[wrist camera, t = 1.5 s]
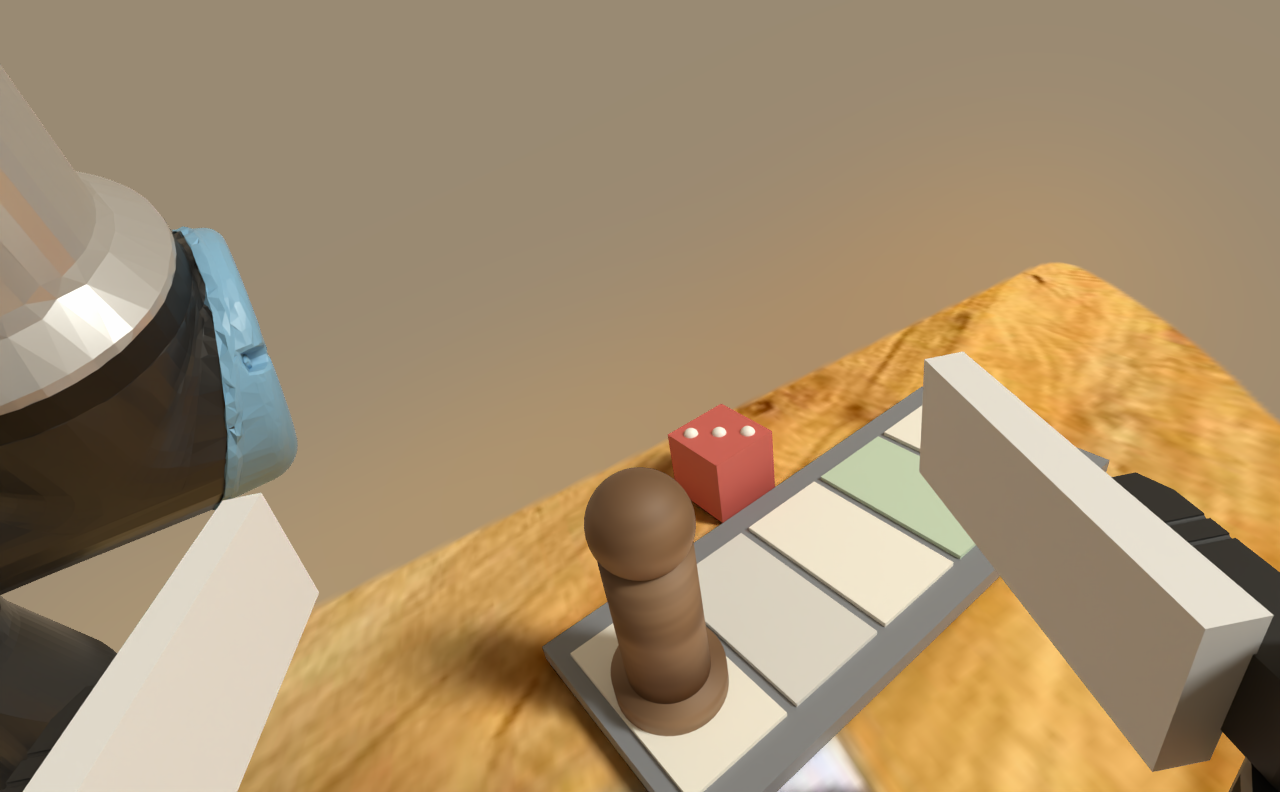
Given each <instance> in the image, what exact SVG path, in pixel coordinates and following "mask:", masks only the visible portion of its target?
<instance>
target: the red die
mask: <svg viewBox="0 0 1280 792" xmlns="http://www.w3.org/2000/svg"><path fill="white" fill-rule="evenodd" d="M668 439H669V445H670V452H671V458H672V465H673V471H674V478H675V480H676V481H677V482H678V483H679V484H680V485H681V486H682V488H683V489H684V490H685V492H686V493H687V495H688V496H689V498H690V500H692V501H693V502H694V503H696V504H697V505H698V506H700V507H701V508H703V509H704V510H705V511H707V512H708V513H709V514H711V515H712V516H714V517H715V518H716V519H718V520H719V521H720V522H722V523H724V522H725V521H727V520H728V519H730V518H731V517H732V516H734V515H735V514H737V513H738V512H740V511H741V510H743V509H744V508H746V507H747V506H748V505H750V504H751V503H753V502H754V501H756V500H757V499H759V498H760V497H762V496H763V495H765V494H766V493H767V492H769V491H770V490H772V489H773V488H775V481H774V462H773V443H772V431H771V430H769V429H767V428H765V427H763V426H761V425H760V424H758V423H756V422H754V421H752V420H750V419H749V418H747V417H745V416H743V415H741V414H739V413H737V412H736V411H734V410H732V409H730V408H728V407H726V406H724V405H722V404H720V405H718V406H716V407H715V408H713V409H711V410H710V411H708V412H706V413H704V414H703V415H701V416H699V417H697V418H696V419H694V420H693V421H691V422H689V423H687V424H685V425H684V426H682V427H680V428H678V429H677V430H675V431H674V432H672V433H670V434H668Z"/></svg>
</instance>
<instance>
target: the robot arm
mask: <svg viewBox="0 0 1280 792" xmlns="http://www.w3.org/2000/svg"><path fill="white" fill-rule="evenodd" d="M296 452H297V437H296V433H295V429H294V425H293V422H292V419H291V415H290V412H289V409H288V406H287V403H286V400H285V397H284V394H283V392H282V389H281V386H280V383H279V380H278V377H277V375H276V372H275V369H274V366H273V364H272V362H271V359H270V357H269V356H268V353H267V347H266V345H265V342H264V340H263V337H262V334H261V331H260V327H259V324H258V321H257V319H256V316H255V313H254V310H253V308H252V305H251V303H250V300H249V297H248V295H247V292H246V289H245V287H244V284H243V282H242V279H241V277H240V274H239V272H238V269H237V267H236V264H235V262H234V259H233V257H232V255H231V253H230V250H229V248H228V246H227V244H226V242H225V240H224V238H223V237H222V236H221V235H220V234H219V233H218V232H216V231H215V230H213V229H209V228H197V229H191V228H188V227H181V228H179V229H177V230H172V231H171V230H170V228H169V226H168V225H167V223H166V221H165V220H164V219H163V218H162V216H161V215H160V214H159V213H158V211H157V210H156V209H155V208H154V207H153V206H152V205H151V203H149V201H148V200H147V199H146V198H144V197H143V196H141V195H140V194H138V193H137V192H135V191H134V190H132V189H131V188H129V187H126V186H124V185H122V184H120V183H118V182H115V181H112V180H109V179H106V178H103V177H100V176H97V175H92V174H87V173H83V172H78V171H74V169H73V168H72V166H71V165H70V163H69V162H68V161H67V159H66V158H65V156H64V155H63V153H62V152H61V150H60V149H59V148H58V146H57V145H56V143H55V142H54V141H53V139H52V138H51V136H50V135H49V133H48V132H47V131H46V129H45V128H44V126H43V125H42V123H41V122H40V120H39V119H38V118H37V116H36V115H35V113H34V112H33V111H32V109H31V108H30V106H29V105H28V103H27V102H26V100H25V99H24V97H23V96H22V95H21V93H20V92H19V90H18V89H17V88H16V86H15V85H14V83H13V82H12V80H11V79H10V77H9V76H8V75H7V73H6V72H5V70H4V69H3V67H2V66H1V65H0V595H2V594H4V593H6V592H9V591H11V590H14V589H16V588H19V587H21V586H23V585H26V584H28V583H31V582H33V581H35V580H38V579H40V578H43V577H45V576H47V575H50V574H52V573H55V572H57V571H60V570H62V569H64V568H67V567H70V566H72V565H75V564H77V563H80V562H82V561H85V560H87V559H89V558H92V557H95V556H97V555H100V554H102V553H105V552H107V551H110V550H112V549H115V548H117V547H120V546H122V545H125V544H127V543H130V542H132V541H135V540H137V539H140V538H142V537H145V536H147V535H150V534H152V533H155V532H157V531H160V530H162V529H165V528H167V527H169V526H172V525H174V524H177V523H180V522H182V521H184V520H187V519H190V518H192V517H195V516H197V515H200V514H202V513H205V512H207V511H210V510H216V511H215V512H214V514H213V515H212V517H211V518H210V520H209V521H208V522H207V524H206V525H205V527H204V528H203V530H202V531H201V533H200V534H199V536H198V537H197V538H196V540H195V541H194V543H193V544H192V546H191V547H190V549H189V550H188V552H187V553H186V554H185V556H184V557H183V559H182V560H181V562H180V563H179V565H178V566H177V568H176V569H175V571H174V572H173V573H172V575H171V576H170V578H169V579H168V581H167V582H166V584H165V585H164V587H163V588H162V590H161V591H160V592H159V594H158V595H157V597H156V598H155V600H154V601H153V602H152V604H151V606H150V607H149V608H148V610H147V611H146V613H145V614H144V616H143V617H142V619H141V620H140V621H139V623H138V624H137V626H136V627H135V629H134V630H133V632H132V633H131V635H130V636H129V638H128V639H127V640H126V642H125V643H124V645H123V646H122V648H121V649H120V651H119V652H118V653H116V652H115V651H114V650H113V649H111V648H110V647H108V646H107V645H105V644H104V643H103V642H101V641H99V640H97V639H94V638H92V637H90V636H87V635H85V634H83V633H81V632H78V631H76V630H74V629H71V628H69V627H66V626H64V625H62V624H60V623H57V622H55V621H53V620H50V619H48V618H46V617H43V616H41V615H39V614H36V613H34V612H32V611H29V610H27V609H25V608H22V607H20V606H18V605H16V604H13V603H11V602H9V601H7V600H5V599H4V598H3V597H2V596H0V792H237V791H238V788H239V786H240V783H241V781H242V779H243V776H244V774H245V771H246V769H247V766H248V764H249V762H250V759H251V757H252V754H253V752H254V749H255V747H256V745H257V742H258V740H259V737H260V735H261V732H262V730H263V728H264V725H265V723H266V720H267V718H268V716H269V713H270V711H271V708H272V706H273V703H274V701H275V699H276V696H277V694H278V691H279V689H280V686H281V684H282V682H283V679H284V677H285V674H286V672H287V669H288V667H289V665H290V662H291V660H292V657H293V655H294V652H295V650H296V648H297V645H298V643H299V640H300V638H301V635H302V633H303V631H304V628H305V626H306V623H307V621H308V619H309V616H310V614H311V611H312V609H313V606H314V604H315V602H316V599H317V596H318V594H319V592H318V590H317V588H316V586H315V585H314V583H313V581H312V580H311V578H310V576H309V574H308V573H307V571H306V569H305V568H304V566H303V564H302V562H301V561H300V559H299V557H298V555H297V554H296V552H295V550H294V549H293V547H292V545H291V543H290V542H289V540H288V538H287V536H286V535H285V533H284V531H283V530H282V528H281V526H280V524H279V523H278V521H277V519H276V517H275V516H274V514H273V512H272V510H271V509H270V507H269V505H268V504H267V502H266V500H265V498H264V497H263V495H262V493H258V494H253V495H248V496H243V497H238V498H235V497H237V496H239V495H242V494H244V493H246V492H248V491H250V490H252V489H254V488H257V487H259V486H261V485H263V484H265V483H267V482H269V481H272V480H274V479H275V478H277V477H279V476H280V475H282V474H283V473H284V472H285V471H286V470H287V469H288V468H289V467H290V466H291V464H292V462H293V461H294V458H295V456H296ZM919 472H920V473H921V475H922V476H923V477H924V479H925V480H926V481H927V482H928V484H929V485H930V486H931V488H932V489H933V490H934V491H935V493H936V494H937V495H938V497H939V498H940V499H941V500H942V502H943V503H944V504H945V506H946V507H947V508H948V509H949V511H950V512H951V513H952V515H953V516H954V517H955V518H956V520H957V521H958V522H959V524H960V525H961V526H962V527H963V529H964V530H965V531H966V533H967V534H968V535H969V536H970V538H971V539H972V540H973V542H974V543H975V544H976V546H977V547H978V548H979V549H980V551H981V552H982V553H983V555H984V556H985V557H986V558H987V560H988V561H989V562H990V564H991V565H992V566H993V567H994V569H995V570H996V571H997V573H998V574H999V575H1000V576H1001V578H1002V579H1003V580H1004V582H1005V583H1006V584H1007V585H1008V587H1009V588H1010V589H1011V591H1012V592H1013V593H1014V594H1015V596H1016V597H1017V598H1018V600H1019V601H1020V602H1021V603H1022V605H1023V606H1024V607H1025V609H1026V610H1027V611H1028V612H1029V614H1030V615H1031V616H1032V618H1033V619H1034V620H1035V621H1036V623H1037V624H1038V625H1039V627H1040V628H1041V629H1042V630H1043V632H1044V633H1045V634H1046V636H1047V637H1048V638H1049V639H1050V641H1051V642H1052V643H1053V645H1054V646H1055V647H1056V648H1057V650H1058V651H1059V652H1060V654H1061V655H1062V656H1063V657H1064V659H1065V660H1066V661H1067V663H1068V664H1069V665H1070V666H1071V668H1072V669H1073V670H1074V672H1075V673H1076V674H1077V675H1078V677H1079V678H1080V679H1081V681H1082V682H1083V683H1084V684H1085V686H1086V687H1087V688H1088V690H1089V691H1090V692H1091V693H1092V695H1093V696H1094V697H1095V699H1096V700H1097V701H1098V702H1099V704H1100V705H1101V706H1102V708H1103V709H1104V710H1105V711H1106V713H1107V714H1108V715H1109V717H1110V718H1111V719H1112V720H1113V722H1114V723H1115V724H1116V726H1117V727H1118V728H1119V729H1120V731H1121V732H1122V733H1123V735H1124V736H1125V737H1126V738H1127V740H1128V741H1129V742H1130V744H1131V745H1132V746H1133V747H1134V749H1135V750H1136V751H1137V753H1138V754H1139V755H1140V756H1141V758H1142V759H1143V760H1144V762H1145V763H1146V764H1147V766H1148V767H1149V768H1150V769H1151V771H1152V772H1154V771H1159V770H1164V769H1169V768H1174V767H1179V766H1184V765H1188V764H1193V763H1198V762H1203V761H1208V760H1210V759H1211V756H1212V754H1213V752H1214V750H1215V747H1216V745H1217V743H1218V741H1219V738H1220V736H1221V734H1222V732H1223V733H1224V734H1225V735H1226V736H1227V737H1228V738H1229V739H1230V740H1231V741H1232V743H1233V744H1234V745H1235V746H1236V747H1237V748H1238V749H1239V750H1240V751H1241V752H1242V753H1243V755H1244V756H1245V759H1244V761H1243V763H1242V765H1241V767H1240V770H1239V772H1238V774H1237V776H1236V778H1235V780H1234V782H1233V784H1232V786H1231V788H1230V790H1229V792H1280V572H1278V571H1277V570H1276V569H1275V568H1273V567H1272V566H1271V565H1270V564H1268V563H1267V562H1266V561H1264V560H1263V559H1262V558H1261V557H1259V556H1258V555H1257V554H1255V553H1254V552H1253V551H1252V550H1250V549H1249V548H1248V547H1247V546H1245V545H1244V544H1243V543H1241V542H1240V541H1239V540H1238V539H1236V538H1233V539H1232V538H1231V537H1230V536H1229V532H1227V531H1226V530H1225V529H1223V528H1222V527H1221V526H1220V525H1218V524H1217V523H1216V522H1215V521H1213V520H1212V519H1211V518H1209V519H1206V518H1205V516H1204V513H1203V512H1202V511H1200V510H1199V509H1198V508H1197V507H1195V506H1194V505H1193V504H1192V503H1190V502H1189V501H1188V500H1186V499H1185V498H1184V497H1183V496H1181V495H1180V494H1179V493H1177V492H1176V491H1175V490H1173V489H1171V488H1169V487H1167V486H1164V485H1162V484H1160V483H1158V482H1156V481H1153V480H1151V479H1149V478H1147V477H1145V476H1142V475H1140V474H1138V473H1131V474H1126V475H1121V476H1116V477H1110V476H1109V475H1108V474H1107V473H1106V472H1104V471H1103V470H1102V469H1101V468H1100V467H1098V466H1097V465H1096V464H1095V463H1094V462H1093V461H1091V460H1090V459H1089V458H1088V457H1087V456H1085V455H1084V454H1083V453H1082V452H1081V451H1080V450H1078V449H1077V448H1076V447H1075V446H1074V445H1073V444H1071V443H1070V442H1069V441H1068V440H1067V439H1065V438H1064V437H1063V436H1062V435H1061V434H1060V433H1058V432H1057V431H1056V430H1055V429H1054V428H1052V427H1051V426H1050V425H1049V424H1048V423H1047V422H1045V421H1044V420H1043V419H1042V418H1041V417H1040V416H1038V415H1037V414H1036V413H1035V412H1034V411H1032V410H1031V409H1030V408H1029V407H1028V406H1027V405H1025V404H1024V403H1023V402H1022V401H1021V400H1019V399H1018V398H1017V397H1016V396H1015V395H1014V394H1012V393H1011V392H1010V391H1009V390H1008V389H1007V388H1005V387H1004V386H1003V385H1002V384H1001V383H999V382H998V381H997V380H996V379H995V378H994V377H992V376H991V375H990V374H989V373H988V372H987V371H985V370H984V369H983V368H982V367H981V366H979V365H978V364H977V363H976V362H975V361H974V360H972V359H971V358H970V357H969V356H968V355H966V354H965V353H964V352H959V353H954V354H949V355H944V356H939V357H934V358H929V359H925V362H924V382H923V403H922V423H921V444H920V464H919Z"/></svg>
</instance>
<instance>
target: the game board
mask: <svg viewBox="0 0 1280 792" xmlns="http://www.w3.org/2000/svg"><path fill="white" fill-rule="evenodd" d="M922 403H923V387H921V388H919V389H918V390H916V391H915V392H913V393H912V394H911V395H909V396H908V397H906V398H905V399H903V400H902V401H900V402H899V403H897V404H896V405H894V406H893V407H892V408H890V409H889V410H887V411H886V412H884V413H883V414H881V415H880V416H878V417H877V418H875V419H874V420H873V421H871V422H870V423H868V424H867V425H865V426H864V427H862V428H861V429H859V430H858V431H857V432H855V433H854V434H852V435H851V436H849V437H848V438H846V439H845V440H843V441H842V442H840V443H839V444H838V445H836V446H835V447H833V448H832V449H830V450H829V451H827V452H826V453H824V454H823V455H821V456H820V457H819V458H817V459H816V460H814V461H813V462H811V463H810V464H808V465H807V466H805V467H804V468H803V469H801V470H800V471H798V472H797V473H795V474H794V475H792V476H791V477H789V478H788V479H786V480H785V481H784V482H782V483H781V484H779V485H778V486H776V487H775V488H773V489H772V490H770V491H769V492H767V493H766V494H765V495H763V496H762V497H760V498H759V499H757V500H756V501H754V502H753V503H751V504H750V505H748V506H747V507H746V508H744V509H743V510H741V511H740V512H738V513H737V514H735V515H734V516H732V517H731V518H730V519H728V520H727V521H725V522H724V523H722V524H721V525H719V526H718V527H716V528H715V529H713V530H712V531H711V532H709V533H708V534H706V535H705V536H703V537H702V538H700V539H699V540H697V541H696V542H694V548H695V555H696V562H697V569H698V576H699V583H700V590H701V597H702V604H703V611H704V618H705V625H706V627H707V628H709V629H710V630H711V631H712V632H713V633H714V634H715V635H716V636H717V637H718V639H719V640H720V642H721V644H722V646H723V648H724V651H725V654H726V659H727V667H728V675H729V687H728V693H727V697H726V699H725V702H724V704H723V706H722V707H721V709H720V710H719V712H718V713H717V714H716V716H715V717H714V718H713V719H712V720H710V721H709V722H708V723H707V724H705V725H704V726H703V727H701V728H699V729H697V730H695V731H693V732H690V733H687V734H683V735H678V736H659V735H654V734H650V733H648V732H645V731H643V730H641V729H639V728H637V727H636V726H635V725H633V724H632V723H631V722H630V721H629V720H628V719H627V718H626V717H625V716H624V714H623V713H622V711H621V709H620V707H619V705H618V703H617V700H616V696H615V692H614V689H613V685H612V681H611V662H612V659H613V655H614V653H615V651H616V649H617V647H618V645H619V644H618V640H617V637H616V633H615V629H614V625H613V621H612V617H611V613H610V609H609V605H608V602H607V603H605V604H604V605H603V606H601V607H600V608H598V609H597V610H595V611H594V612H592V613H591V614H589V615H588V616H586V617H585V618H584V619H582V620H581V621H579V622H578V623H576V624H575V625H573V626H572V627H570V628H569V629H567V630H566V631H565V632H563V633H562V634H560V635H559V636H557V637H556V638H554V639H553V640H551V641H550V642H548V643H547V644H546V645H544V646H543V647H542V648H543V651H544V653H545V656H546V659H547V661H548V662H549V663H550V664H551V666H552V667H553V668H554V670H555V671H556V672H557V674H558V675H559V676H560V677H561V679H562V680H563V681H564V683H565V684H566V685H567V686H568V688H569V689H570V690H571V692H572V693H573V694H574V696H575V697H576V698H577V699H578V701H579V702H580V703H581V705H582V706H583V707H584V709H585V710H586V711H587V712H588V714H589V715H590V716H591V718H592V719H593V720H594V722H595V723H596V724H597V725H598V727H599V728H600V729H601V731H602V732H603V733H604V734H605V736H606V737H607V738H608V740H609V741H610V742H611V744H612V745H613V746H614V747H615V749H616V750H617V751H618V753H619V754H620V755H621V757H622V758H623V759H624V760H625V762H626V763H627V764H628V766H629V767H630V768H631V770H632V771H633V772H634V773H635V775H636V776H637V777H638V779H639V780H640V781H641V782H642V784H643V785H644V786H645V788H646V789H647V790H648V792H777V791H778V790H779V789H780V788H781V787H782V786H783V785H784V784H785V783H786V782H787V781H788V780H789V779H790V778H792V777H793V776H794V775H795V774H796V773H797V772H798V771H799V770H800V769H801V768H802V767H803V766H804V765H805V764H806V763H807V762H808V761H809V760H810V759H811V758H812V757H813V756H814V755H815V754H816V753H817V752H818V751H819V750H820V749H822V748H823V747H824V746H825V745H826V744H827V743H828V742H829V741H830V740H831V739H832V738H833V737H834V736H835V735H836V734H837V733H838V732H839V731H840V730H841V729H842V728H843V727H844V726H845V725H846V724H847V723H848V722H849V721H850V720H852V719H853V718H854V717H855V716H856V715H857V714H858V713H859V712H860V711H861V710H862V709H863V708H864V707H865V706H866V705H867V704H868V703H869V702H870V701H871V700H872V699H873V698H874V697H875V696H876V695H877V694H878V693H879V692H880V691H882V690H883V689H884V688H885V687H886V686H887V685H888V684H889V683H890V682H891V681H892V680H893V679H894V678H895V677H896V676H897V675H898V674H899V673H900V672H901V671H902V670H903V669H904V668H905V667H906V666H907V665H908V664H909V663H910V662H911V661H913V660H914V659H915V658H916V657H917V656H918V655H919V654H920V653H921V652H922V651H923V650H924V649H925V648H926V647H927V646H928V645H929V644H930V643H931V642H932V641H933V640H934V639H935V638H936V637H937V636H938V635H939V634H940V633H941V632H943V631H944V630H945V629H946V628H947V627H948V626H949V625H950V624H951V623H952V622H953V621H954V620H955V619H956V618H957V617H958V616H959V615H960V614H961V613H962V612H963V611H964V610H965V609H966V608H967V607H968V606H969V605H970V604H971V603H973V602H974V601H975V600H976V599H977V598H978V597H979V596H980V595H981V594H982V593H983V592H984V591H985V590H986V589H987V588H988V587H989V586H990V585H991V584H992V583H993V582H994V581H995V580H996V579H997V578H998V577H999V576H1000V575H999V574H998V573H997V571H996V570H995V569H994V567H993V566H992V565H991V564H990V562H989V561H988V560H987V558H986V557H985V556H984V555H983V553H982V552H981V551H980V549H979V548H978V547H977V546H976V544H975V543H974V542H973V540H972V539H971V538H970V536H969V535H968V534H967V533H966V531H965V530H964V529H963V527H962V526H961V525H960V524H959V522H958V521H957V520H956V518H955V517H954V516H953V515H952V513H951V512H950V511H949V509H948V508H947V507H946V506H945V504H944V503H943V502H942V500H941V499H940V498H939V497H938V495H937V494H936V493H935V491H934V490H933V489H932V488H931V486H930V485H929V484H928V482H927V481H926V480H925V479H924V477H923V476H922V475H921V473H920V472H919V464H920V444H921V423H922ZM1076 448H1077V447H1076ZM1077 449H1078V450H1080V451H1081V452H1082V453H1083V454H1084V455H1085V456H1087V457H1088V458H1089V459H1090V460H1091V461H1093V462H1094V463H1095V464H1096V465H1097V466H1098V467H1100V468H1101V469H1102V470H1103V471H1104V472H1106V471H1107V467H1108V464H1109V460H1107V459H1105V458H1102V457H1100V456H1097V455H1095V454H1092V453H1090V452H1087V451H1084V450H1082V449H1079V448H1077Z"/></svg>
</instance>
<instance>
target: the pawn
mask: <svg viewBox="0 0 1280 792" xmlns="http://www.w3.org/2000/svg"><path fill="white" fill-rule="evenodd" d="M695 530H696V518H695V512H694V508H693V505H692V503H691V500H690V498H689V496H688V495H687V493H686V492H685V490H684V489H683V488H682V486H681V485H680V484H679V483H678V482H677V481H676V480H674V479H673V478H672V477H670V476H669V475H667V474H665V473H663V472H661V471H658V470H655V469H651V468H643V467H636V468H629V469H625V470H622V471H619V472H617V473H615V474H613V475H611V476H610V477H608V478H607V479H605V480H604V481H603V482H602V483H601V484H600V485H599V486H598V487H597V488H596V490H595V491H594V493H593V494H592V496H591V498H590V500H589V502H588V505H587V508H586V512H585V517H584V531H585V537H586V541H587V543H588V546H589V549H590V551H591V552H592V554H593V556H594V557H595V559H596V560H597V562H598V566H599V570H600V574H601V578H602V582H603V586H604V590H605V594H606V598H607V601H608V605H609V609H610V613H611V617H612V621H613V625H614V629H615V633H616V637H617V640H618V644H619V645H618V647H617V649H616V651H615V653H614V655H613V659H612V662H611V681H612V685H613V689H614V692H615V696H616V700H617V703H618V705H619V707H620V709H621V711H622V713H623V714H624V716H625V717H626V718H627V719H628V720H629V721H630V722H631V723H632V724H633V725H635V726H636V727H637V728H639V729H641V730H643V731H645V732H648V733H650V734H654V735H659V736H678V735H683V734H687V733H690V732H693V731H695V730H697V729H699V728H701V727H703V726H704V725H705V724H707V723H708V722H709V721H710V720H712V719H713V718H714V717H715V716H716V714H717V713H718V712H719V710H720V709H721V707H722V706H723V704H724V702H725V699H726V697H727V693H728V687H729V675H728V667H727V659H726V654H725V651H724V648H723V646H722V644H721V642H720V640H719V639H718V637H717V636H716V635H715V634H714V633H713V632H712V631H711V630H710V629H709V628H707V627H706V625H705V618H704V611H703V604H702V597H701V590H700V583H699V576H698V569H697V562H696V555H695V548H694V542H693V540H694V536H695Z"/></svg>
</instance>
